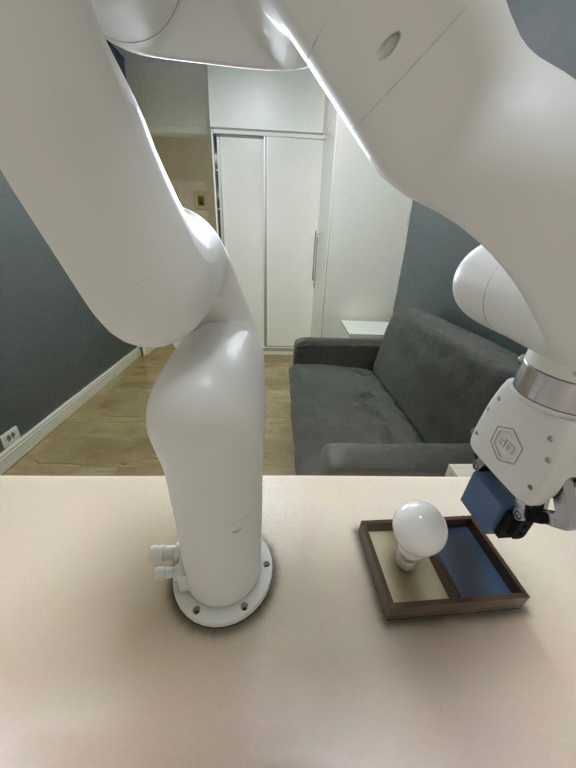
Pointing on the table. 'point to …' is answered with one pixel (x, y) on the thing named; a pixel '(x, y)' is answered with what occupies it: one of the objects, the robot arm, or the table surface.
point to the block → (487, 500)
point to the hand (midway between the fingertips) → (491, 513)
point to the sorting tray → (441, 573)
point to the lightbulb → (418, 532)
